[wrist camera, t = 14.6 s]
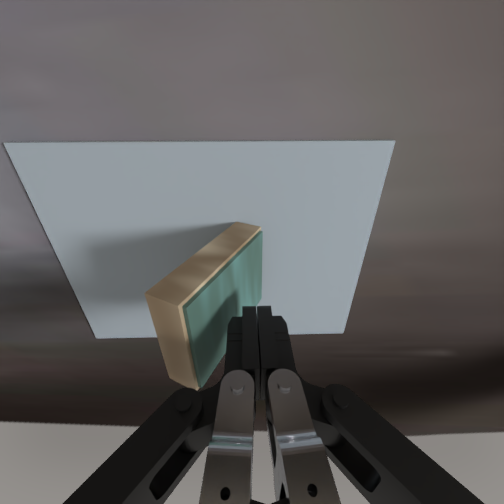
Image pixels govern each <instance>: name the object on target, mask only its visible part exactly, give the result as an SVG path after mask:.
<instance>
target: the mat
mask: <svg viewBox="0 0 504 504" xmlns="http://www.w3.org/2000/svg"><path fill="white" fill-rule="evenodd" d="M3 144H4V146H5V148H6V150H7V152H8V154H9V156H10V158H11V160H12V162H13V165H14V167H15V169H16V171H17V173H18V175H19V177H20V179H21V181H22V183H23V186H24V188H25V190H26V192H27V194H28V196H29V198H30V200H31V202H32V204H33V207H34V209H35V211H36V213H37V215H38V217H39V219H40V221H41V223H42V225H43V227H44V230H45V232H46V234H47V236H48V238H49V240H50V242H51V244H52V246H53V248H54V251H55V253H56V255H57V257H58V259H59V261H60V263H61V265H62V267H63V269H64V272H65V274H66V276H67V278H68V280H69V282H70V284H71V286H72V288H73V290H74V293H75V295H76V297H77V299H78V301H79V303H80V305H81V307H82V309H83V311H84V313H85V316H86V318H87V320H88V322H89V324H90V326H91V328H92V330H93V332H94V334H95V337H96V338H139V337H157V334H156V331H155V328H154V324H153V321H152V318H151V314H150V311H149V307H148V304H147V301H146V297H145V294H144V293H145V292H146V291H148V290H149V289H150V288H151V287H153V286H154V285H155V284H157V283H158V282H159V281H160V280H162V279H163V278H164V277H166V276H167V275H168V274H169V273H171V272H172V271H173V270H175V269H176V268H177V267H178V266H180V265H181V264H182V263H184V262H185V261H186V260H188V259H189V258H190V257H191V256H193V255H194V254H195V253H197V252H198V251H199V250H200V249H202V248H203V247H204V246H206V245H207V244H208V243H209V242H211V241H212V240H213V239H215V238H216V237H217V236H218V235H220V234H221V233H222V232H224V231H225V230H226V229H227V228H229V227H230V226H231V225H233V224H234V223H235V222H240V223H245V224H250V225H255V226H260V227H261V231H263V246H262V299H261V300H260V302H259V303H258V305H257V306H271V310H272V316H282V317H283V319H284V320H285V321H286V323H287V327H288V333H289V334H329V333H344V329H345V325H346V321H347V318H348V314H349V310H350V307H351V303H352V299H353V296H354V292H355V288H356V285H357V281H358V277H359V273H360V270H361V266H362V262H363V259H364V255H365V251H366V248H367V244H368V240H369V237H370V233H371V229H372V226H373V222H374V218H375V214H376V211H377V207H378V203H379V200H380V196H381V192H382V189H383V185H384V181H385V178H386V174H387V170H388V166H389V163H390V159H391V155H392V152H393V148H394V144H395V140H258V141H76V142H5V143H3ZM257 306H256V314H257Z"/></svg>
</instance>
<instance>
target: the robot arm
mask: <svg viewBox="0 0 504 504" xmlns="http://www.w3.org/2000/svg"><path fill="white" fill-rule="evenodd" d="M259 384H260V400H265V402H266V423H267V430H268V437H269V445H270V452H271V459H272V466H273V475H274V489H275V497H276V502H274V503H272V504H341V502H340V498H339V495H338V491H337V488H336V485H335V481H334V478H333V474H332V471H331V468H330V464H329V461H328V458H327V456H328V457H329V458H330V459H331V460H332V461H333V463H334V464H335V465H336V466H337V467H338V468H339V469H340V470H341V472H342V473H343V474H344V475H345V476H346V477H347V478H348V479H349V480H350V482H351V483H352V484H353V485H354V486H355V487H356V488H357V489H358V490H359V492H360V493H361V494H362V495H363V496H364V497H365V498H366V499H367V500H368V502H369V503H370V504H484V503H483V502H482V501H481V500H480V499H478V498H477V497H476V496H475V495H474V494H472V493H471V492H470V491H469V490H468V489H467V488H465V487H464V486H463V485H462V484H460V483H459V482H458V481H457V480H456V479H455V478H453V477H452V476H451V475H450V474H449V473H448V472H446V471H445V470H444V469H443V468H442V467H441V466H439V465H438V464H437V463H436V462H435V461H434V460H432V459H431V458H430V457H429V456H428V455H426V454H425V453H424V452H423V451H422V450H421V449H419V448H418V447H417V446H416V445H415V444H413V443H412V442H411V441H410V440H409V439H408V438H406V437H405V436H404V435H403V434H402V433H401V432H399V431H398V430H397V429H396V428H395V427H393V426H392V425H391V424H390V423H389V422H388V421H386V420H385V419H384V418H383V417H382V416H380V415H379V414H378V413H377V412H376V411H375V410H373V409H372V408H371V407H370V406H369V405H367V404H366V403H365V402H364V401H363V400H362V399H360V398H359V397H358V396H357V395H356V394H355V393H353V392H352V391H351V390H350V389H348V388H347V387H345V386H343V385H340V384H332V385H329V386H327V387H326V388H325V389H324V388H321V387H318V386H314V385H311V384H309V383H307V382H306V381H304V380H303V379H302V378H301V377H300V376H299V375H298V373H297V371H296V368H295V363H294V358H293V353H292V348H291V342H290V337H289V333H288V327H287V323H286V321H285V320H284V319H283V317H282V316H272V310H271V306H257V314H256V306H242V316H241V317H232V318H231V320H230V322H229V323H228V328H227V343H226V358H225V371H224V375H223V377H222V378H221V380H220V381H219V382H218V383H217V384H216V385H214V386H213V387H211V388H208V389H206V390H203V391H200V392H198V391H197V390H195V389H193V388H182V389H179V390H177V391H176V392H174V393H173V394H172V395H171V396H170V397H169V398H168V399H167V400H166V401H165V402H164V403H163V404H162V405H161V406H160V407H159V408H158V409H157V410H156V411H155V412H154V413H153V414H152V415H151V416H150V417H149V418H148V419H147V420H146V421H145V422H144V423H143V424H142V425H141V426H140V427H139V428H138V429H137V430H136V431H135V432H134V433H133V434H132V435H131V436H130V437H129V438H128V439H127V440H126V441H125V442H124V443H123V444H122V445H121V446H120V447H119V448H118V449H117V450H116V451H115V452H114V453H113V454H112V455H111V456H110V457H109V458H108V459H107V460H106V461H105V462H104V463H103V464H102V465H101V466H100V467H99V468H98V469H97V470H96V471H95V472H94V473H93V474H92V475H91V476H90V477H89V478H88V479H87V480H86V481H85V482H84V483H83V484H82V485H81V486H80V487H79V488H78V489H77V490H76V491H75V492H74V493H73V494H72V495H71V496H70V497H69V498H68V499H67V500H66V501H65V502H64V503H63V504H164V502H165V501H166V500H167V498H168V497H169V496H170V494H171V493H172V492H173V490H174V489H175V488H176V486H177V485H178V484H179V482H180V481H181V480H182V478H183V477H184V476H185V474H186V473H187V472H188V470H189V469H190V468H191V466H192V465H193V464H194V462H195V461H196V460H197V458H198V457H199V456H200V454H201V453H202V452H203V450H204V449H205V447H207V446H209V447H208V451H207V457H206V463H205V469H204V476H203V481H202V487H201V494H200V500H199V504H264V503H261V502H257V501H254V500H252V499H251V497H252V463H253V435H254V420H255V415H256V400H259Z"/></svg>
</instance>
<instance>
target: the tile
mask: <svg viewBox="0 0 504 504" xmlns="http://www.w3.org/2000/svg"><path fill="white" fill-rule="evenodd" d="M262 246H263V231H261V227H260V226H255V225H250V224H245V223H240V222H235V223H234V224H233V225H231V226H230V227H229V228H227V229H226V230H225V231H224V232H222V233H221V234H220V235H218V236H217V237H216V238H215V239H213V240H212V241H211V242H209V243H208V244H207V245H206V246H204V247H203V248H202V249H200V250H199V251H198V252H197V253H195V254H194V255H193V256H191V257H190V258H189V259H188V260H186V261H185V262H184V263H182V264H181V265H180V266H178V267H177V268H176V269H175V270H173V271H172V272H171V273H169V274H168V275H167V276H166V277H164V278H163V279H162V280H160V281H159V282H158V283H157V284H155V285H154V286H153V287H151V288H150V289H149V290H148V291H146V292H145V293H144V294H145V297H146V301H147V304H148V307H149V311H150V314H151V318H152V321H153V324H154V328H155V331H156V334H157V338H158V341H159V344H160V348H161V351H162V355H163V358H164V361H165V365H166V368H167V371H168V375H169V378H171V379H172V380H174V381H176V382H178V383H180V384H182V385H184V386H186V387H188V388H193V389H195V390H198V389H199V388H202V387H203V386H204V384H205V383H206V381H207V380H208V378H209V377H210V375H211V374H212V372H213V371H214V369H215V368H216V366H217V365H218V363H219V362H220V360H221V359H222V357H223V356H224V354H225V353H226V343H227V328H228V323H229V322H230V320H231V318H232V317H241V316H242V306H257V305H258V303H259V302H260V300H261V299H262Z"/></svg>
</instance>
